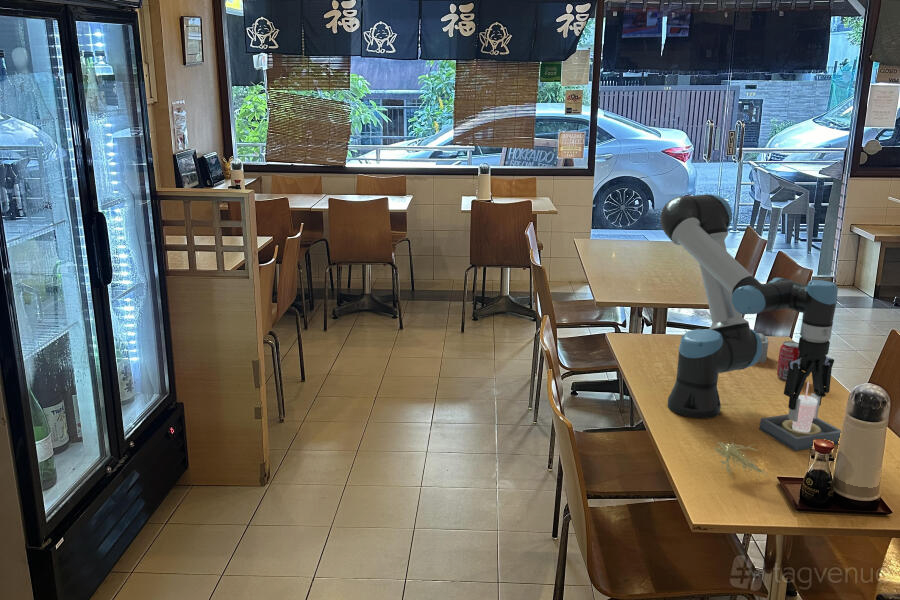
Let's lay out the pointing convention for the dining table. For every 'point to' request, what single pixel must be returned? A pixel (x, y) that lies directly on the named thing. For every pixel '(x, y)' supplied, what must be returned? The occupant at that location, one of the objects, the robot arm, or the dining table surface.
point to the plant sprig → (737, 457)
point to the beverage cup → (805, 413)
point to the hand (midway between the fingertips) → (802, 418)
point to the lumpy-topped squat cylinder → (763, 347)
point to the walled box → (798, 440)
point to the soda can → (786, 357)
